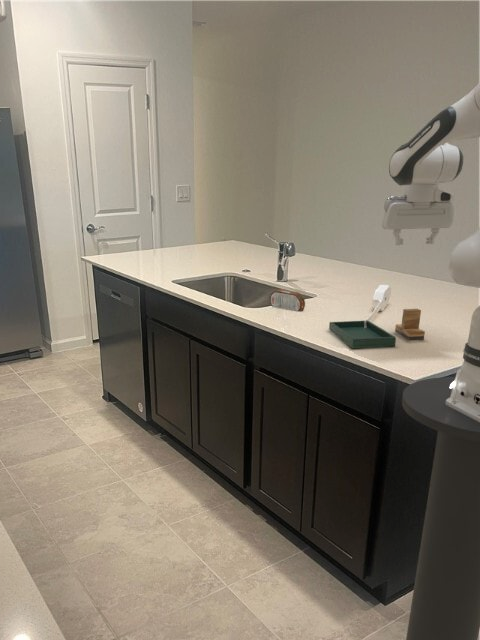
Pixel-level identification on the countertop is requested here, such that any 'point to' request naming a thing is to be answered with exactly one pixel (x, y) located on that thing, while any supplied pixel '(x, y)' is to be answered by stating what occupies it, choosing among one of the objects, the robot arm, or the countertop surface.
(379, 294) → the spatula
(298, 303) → the tin
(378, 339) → the tray
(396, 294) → the countertop surface
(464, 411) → the robot arm
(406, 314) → the wooden inverted t block
